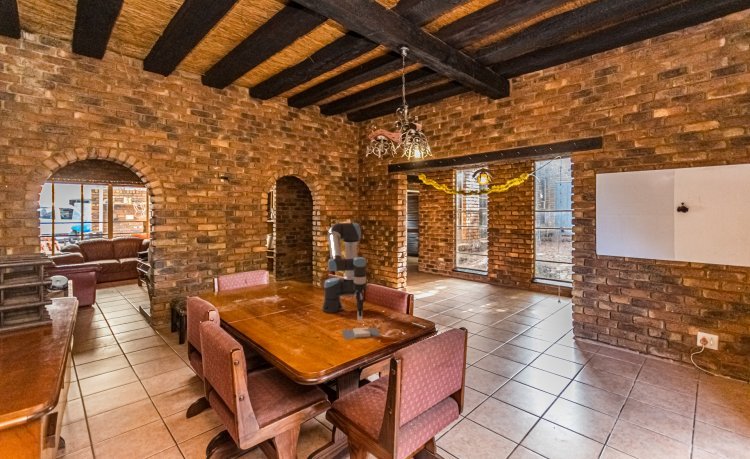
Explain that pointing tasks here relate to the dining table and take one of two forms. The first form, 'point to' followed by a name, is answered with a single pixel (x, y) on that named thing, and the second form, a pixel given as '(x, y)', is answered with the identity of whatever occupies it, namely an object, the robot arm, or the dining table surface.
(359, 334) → the tile
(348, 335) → the mat
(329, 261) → the robot arm
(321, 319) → the dining table surface
